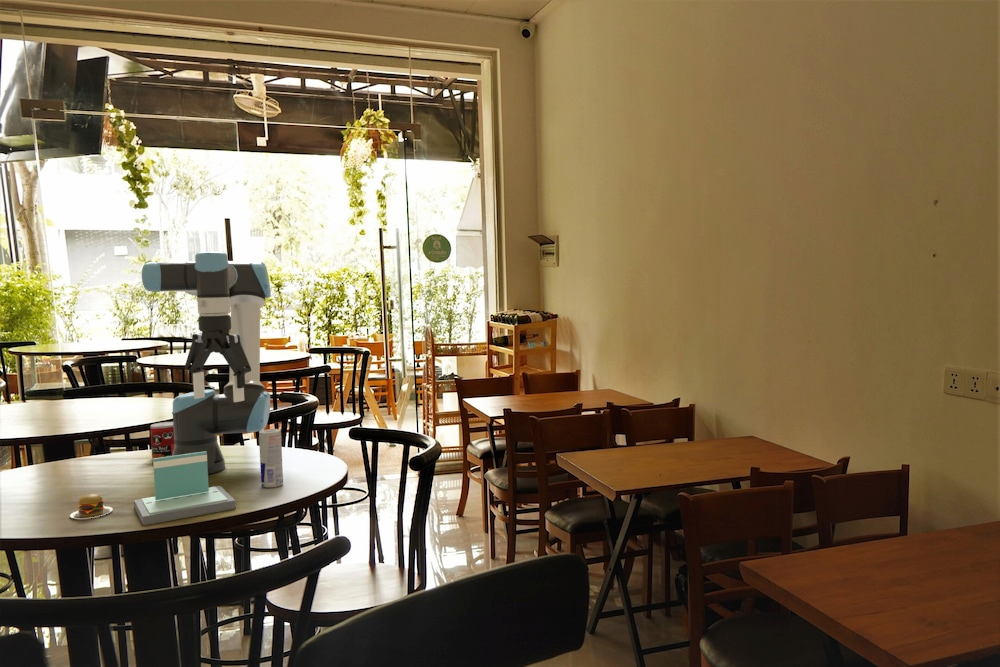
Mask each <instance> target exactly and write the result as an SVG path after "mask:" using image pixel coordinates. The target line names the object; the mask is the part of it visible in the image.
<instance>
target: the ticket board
mask: <svg viewBox="0 0 1000 667" xmlns="http://www.w3.org/2000/svg"><path fill="white" fill-rule="evenodd" d="M133 506H134V510H135V512H136V514H137V516H138V518H139V519H140V522H141V524H142V525H143V526H147V525H152V524H158V523H164V522H169V521H174V520H180V519H187V518H191V517H195V516H196V517H197V516H203V515H208V514H214V513H218V512H223V511H228V510H234V509H236V507H237V506H236V499H235V498H234V497H233V496H232V495H230V494H229V492H227V491H226V490H225V489H224V488H223V487H222V486H221V485H216V486H211V487H209V492H203V493H197V494H191V495H185V496H179V497H173V498H167V499H161V500H155V496H151V497H143V498H138V499H134V500H133Z"/></svg>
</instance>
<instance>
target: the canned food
mask: <svg viewBox="0 0 1000 667" xmlns="http://www.w3.org/2000/svg"><path fill="white" fill-rule="evenodd" d="M150 445H151V447H150V448H151V458H152V459H153V458H160V457H168V456H172V454H173V451H174V428H173V421H164V422H157V423H153V424H151V425H150Z"/></svg>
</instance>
